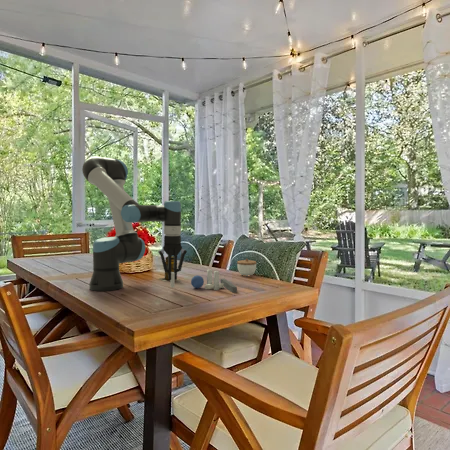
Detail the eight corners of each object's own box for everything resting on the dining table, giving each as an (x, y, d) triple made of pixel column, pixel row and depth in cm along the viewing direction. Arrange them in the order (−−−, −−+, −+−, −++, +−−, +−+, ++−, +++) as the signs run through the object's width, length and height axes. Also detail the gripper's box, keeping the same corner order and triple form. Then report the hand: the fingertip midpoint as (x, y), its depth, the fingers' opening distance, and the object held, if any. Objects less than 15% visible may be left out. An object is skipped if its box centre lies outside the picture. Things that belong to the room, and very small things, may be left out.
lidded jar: (240, 277, 205) (240, 260, 204) (234, 273, 215) (234, 257, 215) (258, 276, 208) (259, 259, 207) (252, 273, 218) (252, 257, 217)
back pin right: (214, 290, 172) (214, 272, 172) (213, 289, 175) (213, 271, 174) (219, 290, 173) (219, 271, 173) (218, 289, 175) (218, 271, 175)
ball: (206, 286, 174) (194, 284, 172) (200, 290, 179) (188, 289, 176) (205, 274, 177) (194, 272, 175) (200, 279, 182) (189, 277, 179)
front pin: (206, 285, 174) (223, 284, 176) (205, 283, 176) (222, 282, 178) (206, 290, 174) (223, 289, 176) (204, 288, 176) (222, 287, 179)
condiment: (179, 279, 196) (179, 257, 196) (164, 281, 192) (164, 258, 191) (173, 277, 203) (173, 255, 202) (158, 279, 198) (158, 256, 197)
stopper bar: (232, 292, 168) (232, 287, 168) (220, 283, 187) (220, 278, 187) (236, 292, 169) (236, 287, 169) (224, 283, 188) (224, 278, 188)
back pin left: (207, 288, 177) (207, 270, 176) (206, 287, 179) (206, 269, 179) (212, 288, 177) (212, 270, 177) (211, 287, 180) (211, 269, 179)
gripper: (158, 236, 164) (158, 289, 165) (188, 235, 168) (188, 287, 169) (157, 234, 171) (157, 285, 172) (185, 234, 175) (185, 284, 176)
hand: (172, 286), depth 171 cm, fingers closed
